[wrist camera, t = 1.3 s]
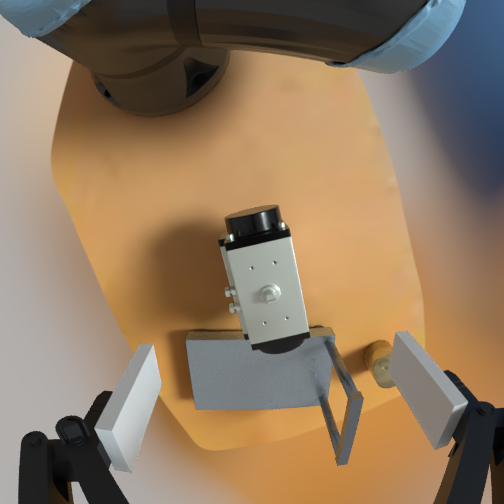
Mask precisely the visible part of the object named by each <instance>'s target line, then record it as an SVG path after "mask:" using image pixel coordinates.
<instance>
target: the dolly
mask: <svg viewBox="0 0 504 504" xmlns="http://www.w3.org/2000/svg"><path fill="white" fill-rule="evenodd" d="M309 332H310V338H308V339H305V340H304V342H303V343H302V344H301V345H300V346H299V347H298V348H296V349H294V350H292V351H290V352H286V353H282V354H266V353H263V352H261V351H260V350H255V351H252V347H251V344H250V340H245V339H244V335H243V332H242V331H228V332H207V331H205V330H203V329H198V330H196V331H195V332H188V335H187V337H186V347H187V355H188V362H189V370H190V377H191V383H192V390H193V396H194V403H195V409H196V410H261V409H283V408H297V407H310V406H320V405H321V408H322V412H323V415H324V418H325V422H326V425H327V428H328V432H329V435H330V438H331V442H332V445H333V448H334V451H335V455H336V458H335V460H336V463H337V466H338V465H345V464H347V462H348V459H349V456H350V452H351V448H352V445H353V441H354V437H355V433H356V429H357V425H358V421H359V417H360V412H361V408H362V404H363V399H364V398H363V396H362V394H361V392H360V391H359V392H358V391H357V389H356V386H355V384H354V382H353V380H352V378H351V376H350V374H349V372H348V370H347V368H346V366H345V364H344V362H343V360H342V358H341V356H340V354H339V352H338V350H337V348H336V346H335V344H334V343H335V334H334V332H333V330H332V328H331V327H326V328H325V327H323V326H315V327H314V328H310V329H309ZM332 362H333V365H334V367H335V369H336V372H337V374H338V376H339V378H340V381H341V383H342V385H343V388H344V390H345V392H346V395H347V397H348V401H347V406H346V412H345V417H344V422H343V427H342V431H341V436H340V435H339V432H338V429H337V426H336V423H335V420H334V417H333V414H332V411H331V408H330V405H329V402H328V394H329V386H330V379H331V370H332Z"/></svg>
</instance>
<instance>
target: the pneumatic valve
mask: <svg viewBox="0 0 504 504" xmlns="http://www.w3.org/2000/svg"><path fill="white" fill-rule="evenodd" d="M225 223H226V227H227V232H223V233H221V234H220V236H219V239H218V242H219V246H220V250H221V253H222V257H223V261H224V265H225V269H226V273H227V276H228V280H229V284H230V288H231V289H230V288H229V287H225V288H224V290H225V295H226V297H231V294H232V295H233V299H234V303H235V305H234V303H230V304H229V309H230V312H231V313H235V310H236V311H237V314H238V317H239V321H240V324H241V328H242V332H243V335H244V339H245V340H250V344H251V347H252V351H255V350H260V351H261V352H263V353H266V354H282V353H286V352H290V351H292V350H294V349H296V348H298V347H299V346H300V345H301V344H302V343H303V342H304V340H305V339H308V338H310V332H309V326H308V321H307V315H306V310H305V304H304V299H303V294H302V289H301V283H300V278H299V273H298V268H297V263H296V258H295V253H294V248H293V243H292V239H291V234H290V229H289V227H288V226H287V225H286V224H285V222H284V221H283V220H282V218H281V214H280V209H279V206H278V205H266V206H260V207H255V208H251V209H247V210H243V211H239V212H236V213H233V214H230V215H228V216H226V217H225Z"/></svg>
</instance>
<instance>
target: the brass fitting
mask: <svg viewBox="0 0 504 504" xmlns="http://www.w3.org/2000/svg"><path fill="white" fill-rule="evenodd" d="M392 349H393V347H392V346H391V345H390V343H389V342H387V341H385V340H378V341H375V342H373V343H372V344H370V345H369V346H368V347H367V348H366V350H365V352H364V355H363V359H364V362H365V364H366V365H367V367H368V369H369V370H370V372H371V374H372V375H373V377H374V379H375V381H376V382H377V384H378V385H379V386H380V387H382V388H391V387H394V386H396V385H395V383H394V382H393V380H392V378H391V377H390V375H389V374H388V368H389V364H390V359H391V354H392Z"/></svg>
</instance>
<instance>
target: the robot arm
mask: <svg viewBox="0 0 504 504" xmlns="http://www.w3.org/2000/svg"><path fill="white" fill-rule="evenodd" d="M465 2H466V0H0V14H1V15H2V16H3V17H4V18H5V19H7V20H8V21H9V22H10V23H11V24H13V25H14V26H15V27H17V28H18V29H19V30H20V31H21V33H22V34H24V35H25V36H28V37H29V38H30V37H32V38H36V39H38V40H40V41H42V42H43V43H45V44H47V45H49V46H50V47H52V48H54V49H56V50H57V51H59V52H61V53H63V54H64V55H66V56H68V57H70V58H71V59H73V60H75V61H76V62H78V63H80V64H81V65H83V66H85V67H86V68H88V69H89V70H90V73H91V75H92V78H93V80H94V83H95V85H96V87H97V89H98V90H99V92H100V93H101V94H102V95H103V97H104V98H105V99H106V100H108V101H109V102H110V103H111V104H113V105H114V106H116V107H118V108H120V109H122V110H124V111H126V112H128V113H131V114H134V115H139V116H148V117H155V116H164V115H169V114H172V113H176V112H179V111H181V110H183V109H186V108H188V107H190V106H191V105H193V104H195V103H196V102H198V101H199V100H201V99H202V98H203V97H205V96H206V95H207V94H208V93H209V92H210V91H211V90H212V89H213V88H214V87H215V86H216V84H217V83H218V82H219V80H220V79H221V77H222V75H223V74H224V72H225V70H226V67H227V65H228V62H229V58H230V51H231V50H241V51H252V52H262V53H270V54H278V55H285V56H292V57H298V58H304V59H310V60H316V61H321V62H324V63H325V64H326V65H328V66H332V67H338V68H344V67H354V68H359V69H364V70H368V71H373V72H377V73H384V74H386V73H387V74H392V73H395V72H398V71H405V70H409V69H412V68H414V67H416V66H418V65H419V64H421V63H423V62H424V61H426V60H427V59H428V58H429V57H430V56H432V55H433V54H434V53H435V52H436V51H437V50H438V49H439V48H440V47H441V46H442V45H443V43H444V42H445V41H446V39H447V38H448V37H449V36H450V34H451V33H452V31H453V30H454V28H455V26H456V24H457V23H458V20H459V18H460V16H461V14H462V12H463V8H464V5H465ZM388 374H389V375H390V377H391V378H392V380H393V382H394V383H395V385H396V386H397V388H398V390H399V391H400V393H401V394H402V396H403V398H404V399H405V401H406V403H407V404H408V406H409V408H410V409H411V411H412V413H413V414H414V416H415V418H416V419H417V421H418V423H419V424H420V426H421V428H422V429H423V431H424V433H425V434H426V436H427V437H428V439H429V441H430V443H431V445H432V446H433V448H434V449H438V448H441V447H444V446H447V445H448V444H449V442H450V440H451V438H452V437H453V438H454V440H455V441H456V442H455V444H454V446H453V448H452V450H451V452H450V453H449V455H448V457H450V459H449V462H448V465H447V468H446V471H445V474H444V477H443V480H442V482H441V485H440V488H439V491H438V493H437V496H436V498H435V501H434V503H433V504H481V500H482V496H483V492H484V488H485V483H486V479H487V474H488V469H489V464H490V469H491V485H492V504H504V408H495V407H494V406H493V405H492V404H490V403H488V402H483V401H481V402H479V401H478V400H477V399H476V397H475V396H474V395H473V394H472V393H471V392H470V390H469V389H468V388H467V387H466V386H465V385H464V384H463V383H462V382H461V380H460V379H459V378H458V377H457V376H456V374H454V373H452V372H450V371H449V370H446V371H442V370H441V369H440V367H439V366H438V365H437V364H436V363H435V362H434V360H433V359H432V358H431V357H430V356H429V355H428V353H426V351H425V350H424V349H423V348H422V347H421V345H420V344H419V343H418V342H417V341H416V340H415V339H414V338H413V336H412V335H411V334H410V333H409V332H408V331H401V332H396V333H395V338H394V344H393V349H392V354H391V359H390V364H389V368H388ZM161 385H162V383H161V379H160V374H159V370H158V365H157V360H156V355H155V351H154V346H153V344H140V345H139V346H138V348H137V350H136V352H135V353H134V355H133V357H132V359H131V361H130V362H129V364H128V366H127V368H126V370H125V371H124V373H123V375H122V377H121V379H120V381H119V382H118V384H117V386H116V388H115V390H114V392H112V391H103V392H102V393H101V394H99V395H98V396H97V397H96V399H95V401H94V402H93V405H92V406H91V408H90V411H88V413H87V415H86V416H85V418H84V420H82V418H80V417H78V416H72V415H71V416H66V417H64V418H62V419H60V420H59V421H58V422H57V424H56V427H55V428H56V432H57V434H58V436H59V438H60V439H53V440H48V438H47V437H46V435H45V434H44V433H42V432H40V431H33V432H30V433H28V434H26V435H25V436H24V437H23V439H22V442H21V451H20V465H19V490H18V491H19V492H18V504H74V502H73V495H72V487H71V482H79V484H80V486H81V488H82V491H83V493H84V495H85V497H86V499H87V501H88V503H89V504H129V503H128V501H127V499H126V498H125V496H124V495H123V493H122V491H121V490H120V488H119V486H118V485H117V483H116V482H115V480H114V478H113V476H112V475H111V473H110V471H109V466H110V464H111V463H112V465H113V467H114V469H115V470H119V471H124V472H130V473H131V472H132V469H133V466H134V463H135V460H136V457H137V454H138V451H139V448H140V445H141V442H142V439H143V437H144V433H145V431H146V428H147V425H148V422H149V419H150V416H151V413H152V411H153V408H154V405H155V402H156V399H157V397H158V394H159V391H160V388H161Z"/></svg>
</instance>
